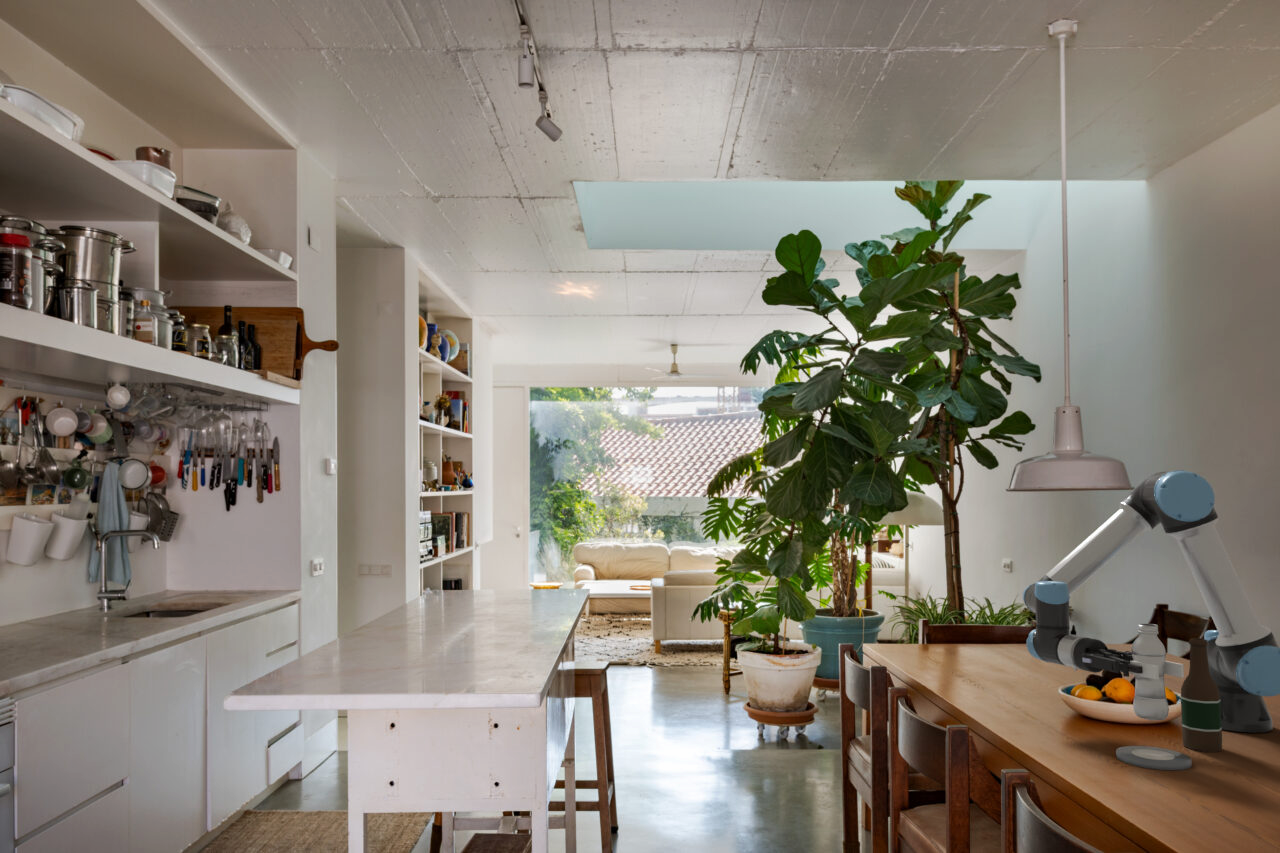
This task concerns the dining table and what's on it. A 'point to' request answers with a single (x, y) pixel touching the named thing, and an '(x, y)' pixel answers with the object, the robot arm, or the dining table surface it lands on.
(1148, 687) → the plastic bottle
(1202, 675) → the beer bottle
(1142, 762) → the coaster
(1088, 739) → the dining table surface
